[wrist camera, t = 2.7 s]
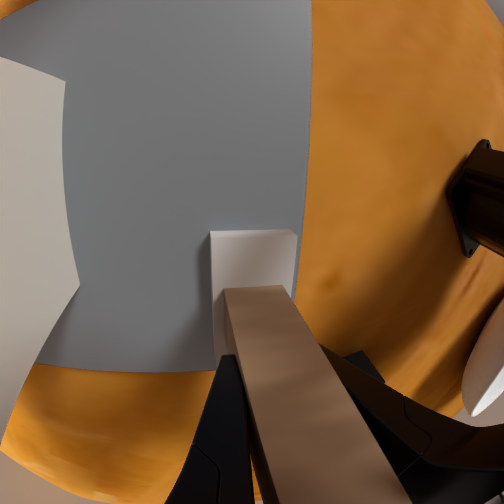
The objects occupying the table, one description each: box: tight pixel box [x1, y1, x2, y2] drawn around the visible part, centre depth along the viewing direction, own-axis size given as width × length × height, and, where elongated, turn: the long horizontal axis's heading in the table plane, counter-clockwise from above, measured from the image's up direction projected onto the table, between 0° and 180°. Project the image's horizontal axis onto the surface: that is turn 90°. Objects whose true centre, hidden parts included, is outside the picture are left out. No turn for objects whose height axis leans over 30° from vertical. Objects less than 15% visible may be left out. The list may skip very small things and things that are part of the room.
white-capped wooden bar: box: [210, 229, 412, 504], centre depth 7 cm, size 3×6×10 cm, turn 178°
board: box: [0, 0, 312, 373], centre depth 8 cm, size 22×18×2 cm
